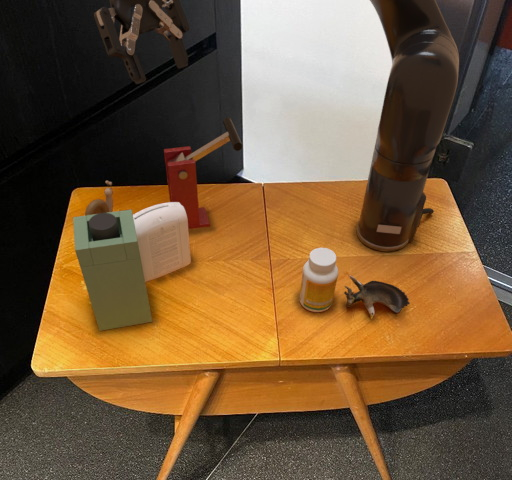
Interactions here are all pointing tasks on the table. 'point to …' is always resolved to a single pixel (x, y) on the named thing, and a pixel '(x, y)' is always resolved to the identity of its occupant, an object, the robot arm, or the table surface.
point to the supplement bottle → (319, 280)
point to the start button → (104, 227)
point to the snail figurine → (101, 203)
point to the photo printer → (162, 239)
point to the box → (113, 273)
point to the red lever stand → (185, 186)
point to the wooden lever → (214, 143)
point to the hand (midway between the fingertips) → (162, 74)
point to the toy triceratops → (377, 295)
